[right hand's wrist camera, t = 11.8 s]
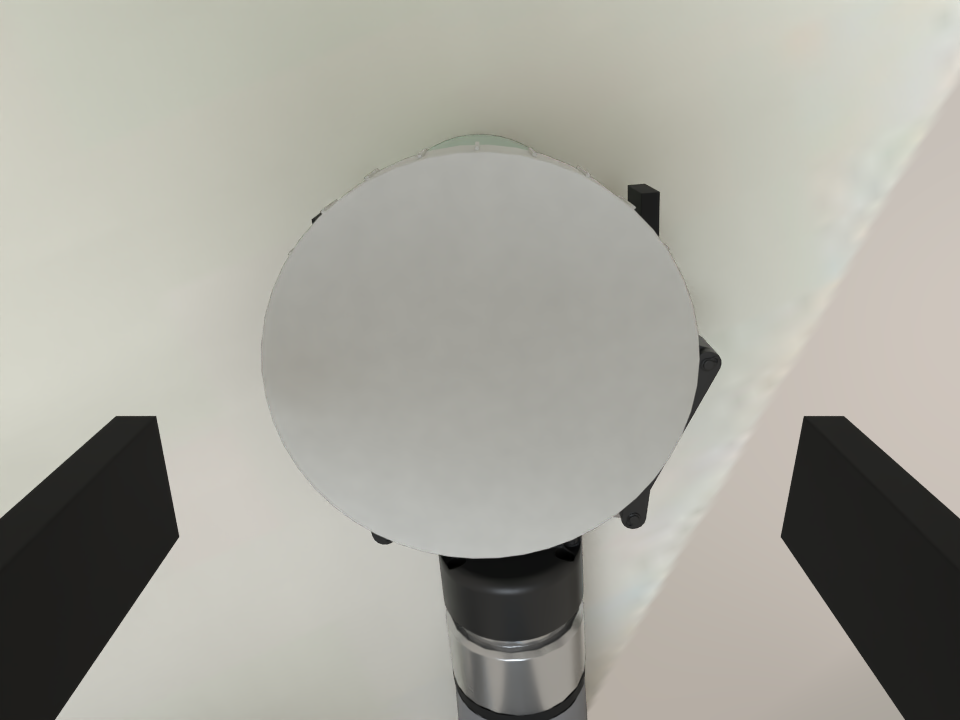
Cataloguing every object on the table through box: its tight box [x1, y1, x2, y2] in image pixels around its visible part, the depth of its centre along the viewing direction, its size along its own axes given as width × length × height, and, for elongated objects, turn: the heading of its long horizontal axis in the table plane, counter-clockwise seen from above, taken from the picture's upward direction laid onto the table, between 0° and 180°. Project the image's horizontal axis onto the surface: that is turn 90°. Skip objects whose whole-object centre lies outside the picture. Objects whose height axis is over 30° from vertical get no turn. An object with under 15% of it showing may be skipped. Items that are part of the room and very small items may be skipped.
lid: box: [261, 142, 700, 558], centre depth 19 cm, size 12×12×2 cm
